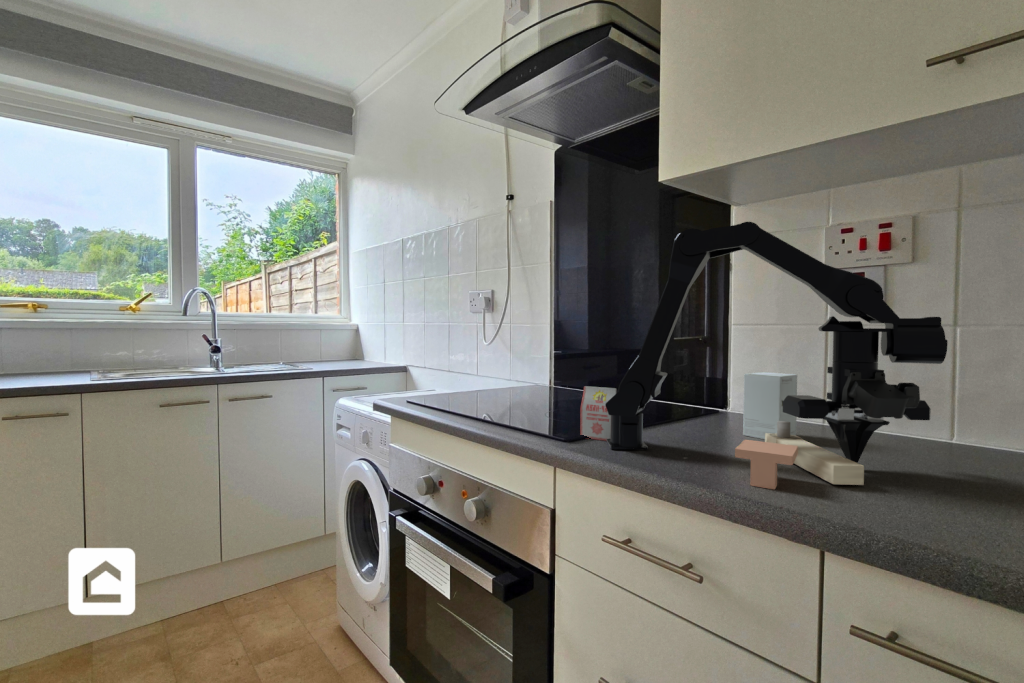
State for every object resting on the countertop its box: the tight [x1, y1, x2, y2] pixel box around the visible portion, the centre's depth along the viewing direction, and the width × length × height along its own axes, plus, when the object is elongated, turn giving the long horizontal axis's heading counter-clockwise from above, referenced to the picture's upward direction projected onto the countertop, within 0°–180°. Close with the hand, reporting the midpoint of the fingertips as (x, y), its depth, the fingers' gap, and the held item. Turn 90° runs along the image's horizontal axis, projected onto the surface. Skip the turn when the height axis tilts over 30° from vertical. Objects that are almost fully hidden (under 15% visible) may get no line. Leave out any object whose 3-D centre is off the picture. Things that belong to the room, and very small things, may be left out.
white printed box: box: [579, 385, 618, 442], centre depth 98 cm, size 4×7×10 cm, turn 57°
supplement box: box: [742, 371, 798, 440], centre depth 99 cm, size 7×7×13 cm
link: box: [764, 421, 865, 486], centre depth 77 cm, size 21×5×5 cm, turn 177°
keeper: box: [734, 439, 798, 490], centre depth 70 cm, size 7×7×5 cm
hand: (852, 463), depth 76 cm, fingers closed
